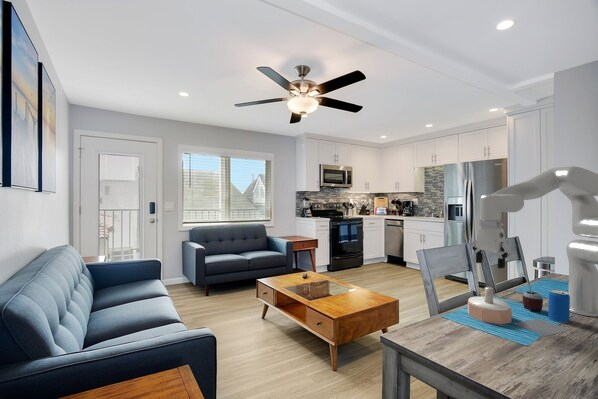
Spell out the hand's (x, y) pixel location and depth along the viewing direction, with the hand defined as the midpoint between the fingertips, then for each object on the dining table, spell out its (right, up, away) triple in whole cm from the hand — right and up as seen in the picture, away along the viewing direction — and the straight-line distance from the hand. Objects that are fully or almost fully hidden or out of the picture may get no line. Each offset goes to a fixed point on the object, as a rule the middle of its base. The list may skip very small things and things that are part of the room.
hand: (489, 265), depth 124 cm
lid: (0, -16, 0) cm, 16 cm away
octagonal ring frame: (0, -22, 0) cm, 22 cm away
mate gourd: (+24, -22, +8) cm, 33 cm away
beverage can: (+26, -22, -3) cm, 35 cm away
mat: (+14, -22, -9) cm, 28 cm away
